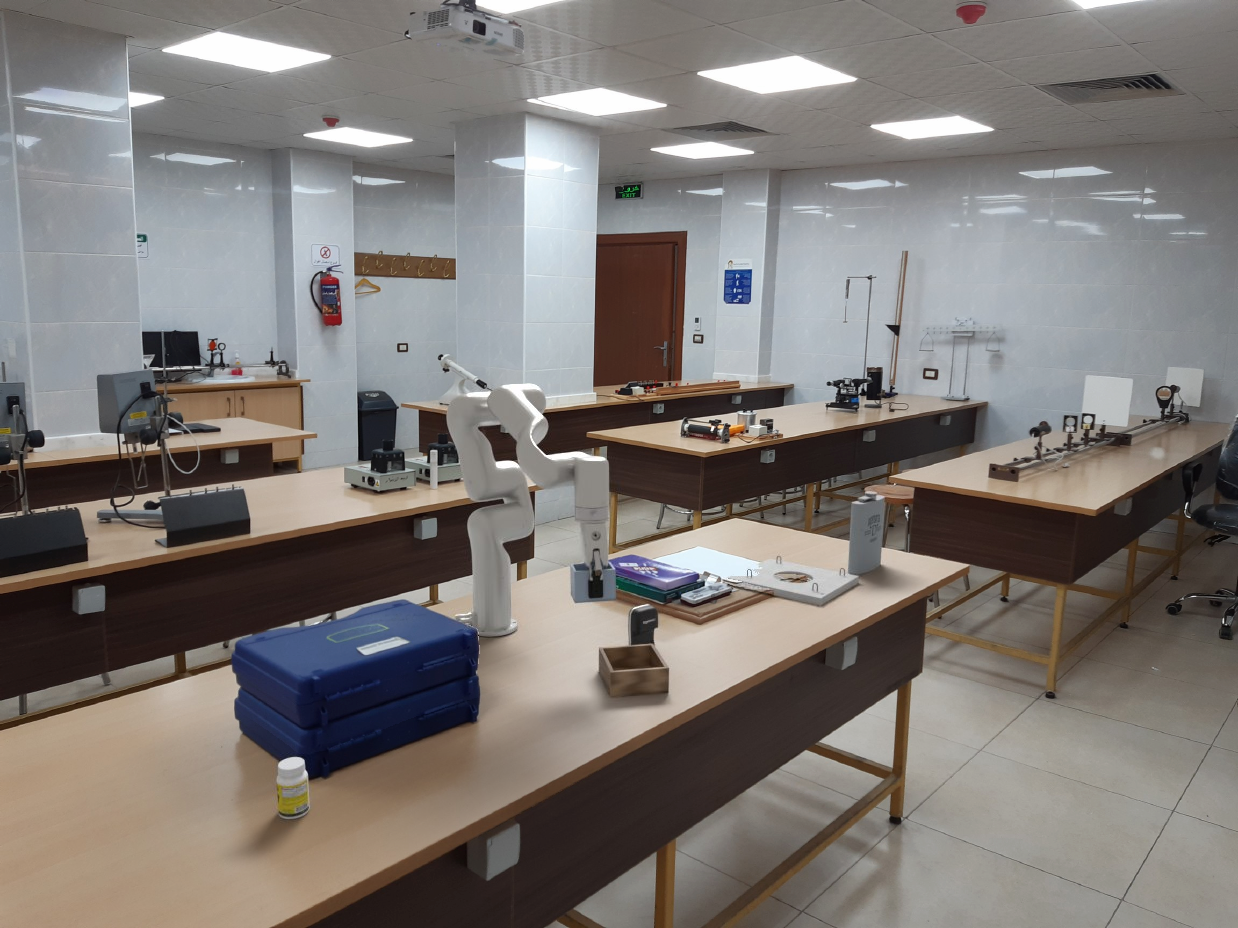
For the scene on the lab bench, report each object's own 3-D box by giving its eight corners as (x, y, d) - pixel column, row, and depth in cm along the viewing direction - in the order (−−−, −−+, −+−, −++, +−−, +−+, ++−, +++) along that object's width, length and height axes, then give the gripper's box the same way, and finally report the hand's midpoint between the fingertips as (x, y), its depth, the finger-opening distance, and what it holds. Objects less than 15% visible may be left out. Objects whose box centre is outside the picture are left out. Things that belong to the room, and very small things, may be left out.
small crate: (574, 603, 186) (574, 571, 185) (570, 594, 192) (570, 563, 191) (615, 600, 188) (615, 569, 187) (610, 591, 194) (610, 561, 193)
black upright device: (637, 659, 200) (637, 612, 198) (627, 654, 203) (627, 607, 201) (660, 652, 204) (660, 606, 202) (649, 647, 207) (650, 602, 205)
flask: (859, 575, 267) (864, 496, 263) (846, 572, 270) (850, 494, 266) (884, 564, 280) (889, 488, 276) (871, 561, 283) (876, 486, 279)
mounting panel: (821, 590, 238) (727, 570, 256) (820, 607, 239) (726, 586, 257) (859, 568, 259) (769, 551, 277) (858, 584, 260) (769, 566, 278)
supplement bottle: (283, 803, 140) (280, 755, 138) (313, 802, 140) (310, 754, 139) (274, 820, 135) (271, 771, 134) (305, 819, 135) (302, 770, 134)
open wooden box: (610, 697, 180) (610, 672, 179) (598, 670, 194) (598, 647, 193) (668, 692, 183) (669, 667, 182) (652, 666, 196) (653, 643, 195)
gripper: (616, 520, 180) (617, 603, 182) (602, 504, 196) (603, 580, 199) (580, 522, 178) (582, 606, 181) (569, 506, 195) (570, 582, 198)
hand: (593, 592), depth 190 cm, fingers closed on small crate, 6 cm apart
